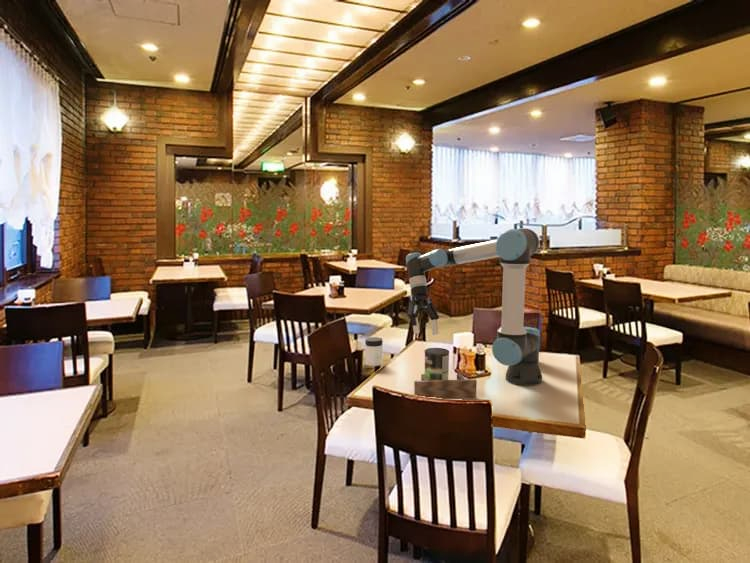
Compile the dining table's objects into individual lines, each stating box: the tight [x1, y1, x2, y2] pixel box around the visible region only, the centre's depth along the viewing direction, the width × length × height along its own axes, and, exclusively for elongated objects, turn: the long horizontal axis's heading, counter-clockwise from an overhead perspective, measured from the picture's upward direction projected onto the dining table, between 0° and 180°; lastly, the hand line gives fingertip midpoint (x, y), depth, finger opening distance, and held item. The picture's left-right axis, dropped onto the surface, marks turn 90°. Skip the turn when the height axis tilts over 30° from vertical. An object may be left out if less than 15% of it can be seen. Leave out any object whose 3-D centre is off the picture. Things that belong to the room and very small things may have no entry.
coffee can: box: [423, 347, 450, 380], centre depth 222 cm, size 10×10×14 cm
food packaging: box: [523, 307, 540, 331], centre depth 253 cm, size 13×9×25 cm
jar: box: [364, 336, 384, 367], centre depth 251 cm, size 9×8×12 cm
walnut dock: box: [413, 372, 478, 399], centre depth 209 cm, size 24×10×7 cm, turn 94°
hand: (426, 333), depth 230 cm, fingers open, 13 cm apart
